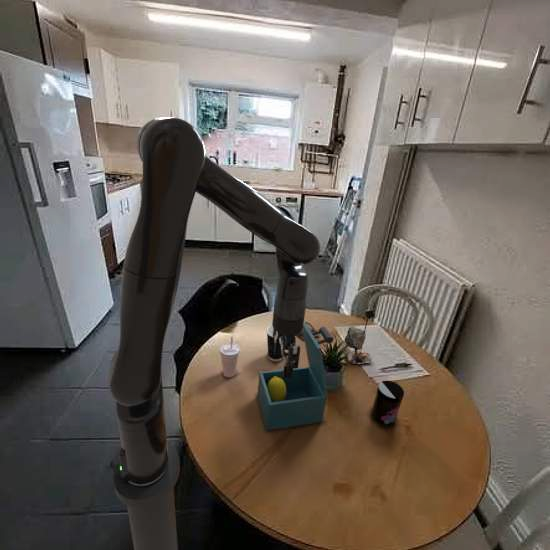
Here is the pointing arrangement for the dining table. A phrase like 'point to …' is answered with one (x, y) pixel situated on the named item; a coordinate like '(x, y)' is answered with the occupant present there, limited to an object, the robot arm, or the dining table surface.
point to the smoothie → (229, 358)
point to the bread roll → (309, 329)
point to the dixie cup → (271, 345)
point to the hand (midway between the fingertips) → (282, 365)
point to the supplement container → (387, 402)
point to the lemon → (276, 389)
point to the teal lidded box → (292, 399)
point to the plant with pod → (358, 342)
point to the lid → (316, 353)
